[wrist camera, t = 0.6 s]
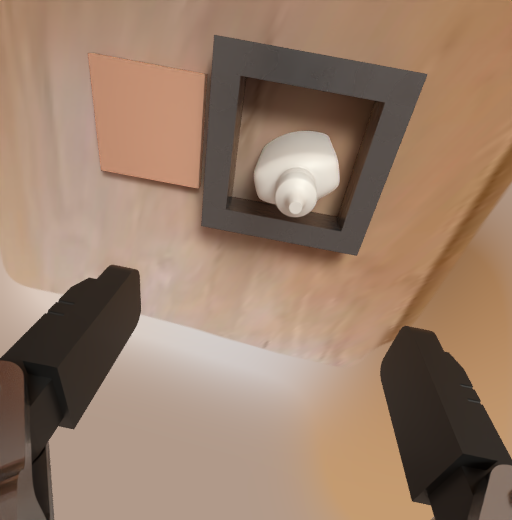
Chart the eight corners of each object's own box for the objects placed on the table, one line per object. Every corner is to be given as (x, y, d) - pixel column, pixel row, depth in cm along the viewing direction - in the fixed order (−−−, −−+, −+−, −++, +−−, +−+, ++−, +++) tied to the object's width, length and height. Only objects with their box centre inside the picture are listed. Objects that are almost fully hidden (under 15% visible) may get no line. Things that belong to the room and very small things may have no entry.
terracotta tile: (93, 53, 25) (87, 52, 24) (207, 74, 25) (204, 74, 24) (105, 167, 29) (101, 170, 29) (200, 185, 29) (198, 188, 29)
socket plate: (223, 37, 23) (214, 34, 21) (413, 72, 23) (427, 74, 20) (209, 212, 31) (201, 225, 28) (352, 239, 31) (356, 255, 28)
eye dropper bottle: (317, 186, 28) (328, 257, 18) (257, 166, 28) (234, 226, 18) (338, 137, 26) (364, 187, 16) (273, 114, 26) (257, 150, 15)
